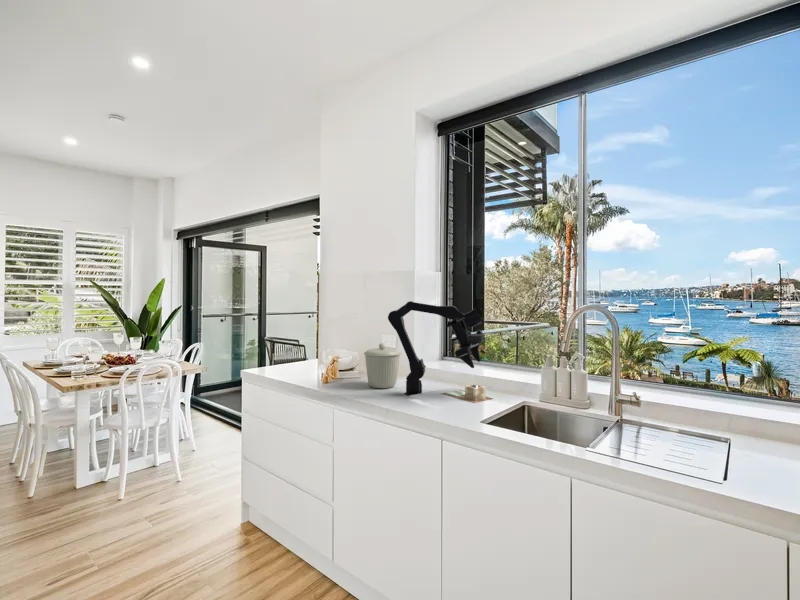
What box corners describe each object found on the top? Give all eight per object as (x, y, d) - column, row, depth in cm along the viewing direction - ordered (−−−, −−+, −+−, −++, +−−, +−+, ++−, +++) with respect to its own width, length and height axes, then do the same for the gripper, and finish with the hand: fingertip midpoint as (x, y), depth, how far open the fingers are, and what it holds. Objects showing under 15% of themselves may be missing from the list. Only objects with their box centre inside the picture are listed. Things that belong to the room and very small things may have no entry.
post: (475, 399, 175) (475, 386, 175) (471, 398, 177) (471, 385, 177) (479, 398, 176) (479, 385, 176) (475, 397, 178) (475, 384, 178)
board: (473, 406, 169) (474, 402, 169) (440, 396, 185) (440, 392, 185) (493, 402, 176) (494, 398, 176) (459, 393, 192) (459, 389, 192)
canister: (388, 392, 193) (388, 346, 193) (356, 387, 202) (356, 343, 202) (407, 385, 209) (407, 342, 208) (376, 381, 218) (377, 340, 217)
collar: (475, 400, 173) (475, 388, 172) (464, 397, 177) (465, 386, 177) (485, 398, 176) (485, 386, 176) (474, 395, 181) (474, 384, 181)
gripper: (470, 330, 173) (486, 365, 173) (483, 321, 190) (498, 352, 189) (447, 340, 179) (463, 373, 178) (461, 330, 195) (476, 360, 194)
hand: (476, 364), depth 185 cm, fingers open, 9 cm apart
